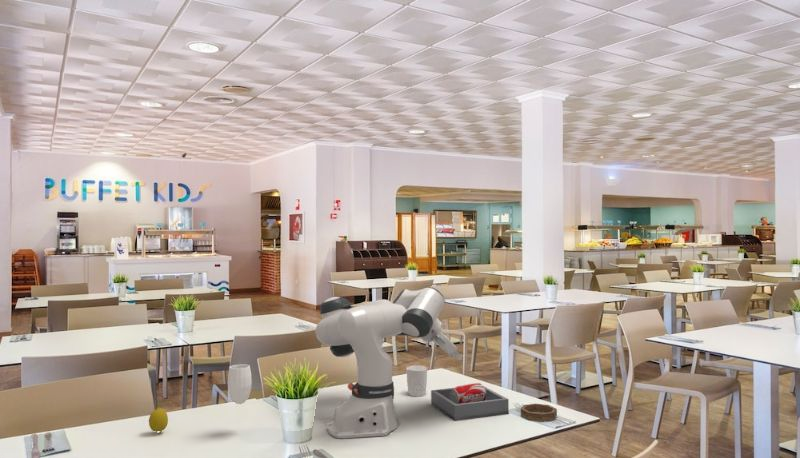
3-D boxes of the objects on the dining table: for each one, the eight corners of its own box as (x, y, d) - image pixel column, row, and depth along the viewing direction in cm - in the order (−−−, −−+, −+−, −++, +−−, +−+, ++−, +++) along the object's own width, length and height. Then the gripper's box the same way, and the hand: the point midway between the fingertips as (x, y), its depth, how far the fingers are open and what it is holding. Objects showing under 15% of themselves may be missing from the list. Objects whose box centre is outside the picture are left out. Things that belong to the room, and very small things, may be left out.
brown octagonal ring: (533, 423, 194) (533, 415, 194) (515, 413, 205) (515, 406, 205) (562, 419, 198) (562, 411, 198) (543, 409, 208) (543, 402, 208)
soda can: (487, 406, 212) (458, 411, 206) (475, 397, 218) (447, 402, 212) (488, 386, 211) (460, 391, 205) (477, 379, 217) (449, 383, 211)
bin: (454, 420, 198) (454, 405, 198) (431, 404, 216) (431, 390, 216) (508, 413, 204) (508, 399, 204) (481, 398, 223) (481, 384, 223)
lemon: (148, 437, 185) (147, 411, 185) (150, 431, 190) (150, 406, 190) (167, 435, 186) (166, 409, 186) (169, 429, 192) (168, 404, 192)
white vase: (227, 430, 190) (226, 365, 190) (250, 427, 193) (250, 363, 193) (229, 438, 183) (228, 370, 183) (253, 435, 186) (252, 367, 186)
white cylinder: (403, 392, 232) (403, 366, 232) (423, 390, 234) (423, 365, 234) (410, 398, 225) (410, 371, 225) (430, 396, 227) (430, 369, 227)
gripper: (442, 327, 198) (471, 356, 200) (429, 317, 218) (455, 343, 220) (429, 341, 198) (458, 369, 199) (417, 329, 218) (443, 355, 220)
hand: (456, 355), depth 210 cm, fingers open, 8 cm apart
